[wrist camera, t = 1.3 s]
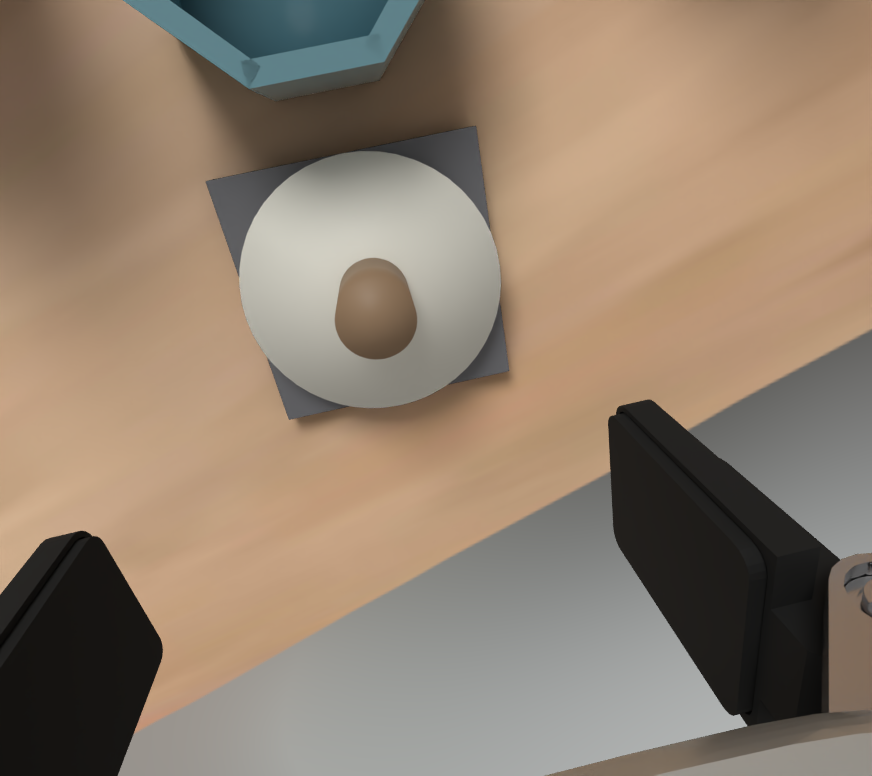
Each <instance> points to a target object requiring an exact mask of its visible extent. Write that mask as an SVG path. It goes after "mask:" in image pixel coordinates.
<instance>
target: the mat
mask: <svg viewBox="0 0 872 776" xmlns="http://www.w3.org/2000/svg"><path fill="white" fill-rule="evenodd" d="M356 151H380V152H386V153H392V154H397V155H401V156H404V157H407V158H411V159H414V160H416V161H419V162H421V163H423V164H425V165H427V166H429V167H432V168H433V169H435V170H436V171H438V172H440V173H441V174H443V175H444V176H446V177H447V178H449V179H450V180H451V181H452V182H453V183H454V184H456V185H457V186H458V187H459V188H460V189H461V190H462V191H463V192H464V193H465V194H466V195H467V196H468V197H469V198H470V200H471V201H472V202H473V203H474V204H475V206H476V207H477V209H478V210H479V212H480V213H481V215H482V216H483V218H484V220H485V222H486V224H487V226H488V228H489V230H490V225H489V218H488V210H487V203H486V196H485V188H484V181H483V173H482V166H481V159H480V151H479V144H478V137H477V129H476V126H472V127H467V128H462V129H457V130H452V131H447V132H442V133H437V134H433V135H428V136H423V137H418V138H413V139H408V140H403V141H399V142H394V143H389V144H384V145H379V146H374V147H369V148H364V149H360V150H355V151H350V152H356ZM345 153H349V152H345ZM340 154H342V153H340ZM335 155H338V154H335ZM331 156H334V155H330V156H325V157H321V158H316V159H311V160H306V161H301V162H296V163H291V164H286V165H282V166H277V167H272V168H267V169H262V170H257V171H252V172H248V173H243V174H238V175H233V176H228V177H223V178H218V179H213V180H209V181H206V184H207V187H208V190H209V193H210V196H211V199H212V201H213V204H214V207H215V210H216V213H217V216H218V218H219V221H220V224H221V227H222V230H223V233H224V236H225V238H226V241H227V244H228V247H229V250H230V253H231V256H232V258H233V261H234V264H235V267H236V270H237V273H238V276H239V269H240V261H241V254H242V249H243V246H244V242H245V239H246V235H247V233H248V230H249V228H250V226H251V224H252V221H253V219H254V217H255V216H256V214H257V213H258V211H259V209H260V208H261V206H262V205H263V203H264V202H265V201H266V200H267V198H268V197H269V196H270V195H271V194H272V193H273V191H274V190H275V189H276V188H277V187H278V186H280V185H281V184H282V183H283V182H284V181H285V180H287V179H288V178H289V177H290V176H292V175H293V174H295V173H296V172H298V171H300V170H301V169H303V168H304V167H306V166H308V165H310V164H313V163H315V162H317V161H319V160H322V159H324V158H327V157H331ZM267 358H268V357H267ZM268 361H269V364H270V367H271V370H272V373H273V376H274V378H275V381H276V384H277V387H278V390H279V393H280V396H281V398H282V401H283V404H284V407H285V410H286V413H287V416H288V418H289V420H290V419H294V418H299V417H303V416H308V415H313V414H317V413H322V412H326V411H331V410H335V409H340V408H344V407H349V406H347V405H342V404H338V403H335V402H331V401H328V400H325V399H323V398H321V397H318V396H316V395H314V394H312V393H310V392H308V391H306V390H305V389H303V388H301V387H300V386H298V385H296V384H295V383H294V382H293V381H291V380H290V379H289V378H287V377H286V376H285V375H284V374H283V373H282V372H281V371H280V370H279V369H278V368H277V367H276V366H275V365H274V364H273V363H272V362H271V361H270V360H269V358H268ZM507 371H509V365H508V358H507V351H506V343H505V336H504V328H503V321H502V314H501V306H500V300H499V306H498V311H497V315H496V318H495V321H494V324H493V327H492V330H491V332H490V334H489V336H488V338H487V340H486V342H485V344H484V346H483V347H482V349H481V350H480V352H479V353H478V355H477V356H476V358H475V359H474V360H473V361H472V362H471V364H470V365H469V366H468V367H467V368H466V369H465V370H464V371H463V372H462V373H461V374H460V375H459V376H458V377H457V378H456V379H454V380H453V381H452V382H450V383H449V384H453V383H457V382H462V381H466V380H471V379H475V378H480V377H484V376H489V375H493V374H498V373H502V372H507Z"/></svg>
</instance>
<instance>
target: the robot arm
mask: <svg viewBox="0 0 872 776" xmlns="http://www.w3.org/2000/svg"><path fill="white" fill-rule="evenodd" d="M608 429H609V449H610V469H611V489H612V508H613V527H614V534H615V538H616V541H617V543H618V546H619V548H620V549H621V551H622V552H623V554H624V556H625V557H626V559H627V560H628V561H629V563H630V565H631V566H632V568H633V569H634V571H635V572H636V574H637V576H638V577H639V579H640V580H641V581H642V583H643V585H644V586H645V588H646V589H647V591H648V592H649V594H650V595H651V597H652V598H653V600H654V602H655V603H656V605H657V606H658V608H659V609H660V611H661V612H662V614H663V615H664V617H665V618H666V620H667V621H668V623H669V624H670V626H671V628H672V629H673V631H674V632H675V634H676V635H677V637H678V638H679V640H680V641H681V643H682V645H683V646H684V648H685V649H686V651H687V652H688V654H689V655H690V657H691V658H692V660H693V661H694V663H695V664H696V666H697V668H698V669H699V671H700V672H701V674H702V675H703V677H704V678H705V680H706V681H707V683H708V684H709V686H710V688H711V689H712V691H713V692H714V694H715V695H716V697H717V698H718V700H719V701H720V703H721V704H722V706H723V707H724V709H725V710H726V711H727V712H728V713H729V714H731V715H733V716H734V715H738V714H740V715H741V717H742V718H743V720H744V721H745V723H746V724H747V727H743V728H739V729H734V730H730V731H726V732H722V733H717V734H713V735H709V736H705V737H700V738H697V739H692V740H687V741H683V742H679V743H675V744H670V745H666V746H662V747H658V748H653V749H649V750H645V751H641V752H637V753H632V754H628V755H625V756H620V757H616V758H613V759H608V760H605V761H601V762H597V763H593V764H589V765H585V766H581V767H577V768H573V769H569V770H566V771H562V772H557V773H554V774H550V775H546V776H872V553H866V554H855V555H852V556H849V557H846V558H844V559H841V560H840V559H839V558H838V557H837V556H835V555H834V554H833V553H832V552H831V551H830V550H828V549H827V548H826V547H825V546H824V545H823V544H821V543H820V542H819V541H818V540H817V539H816V538H814V537H813V536H812V535H811V534H810V533H809V532H807V531H806V530H805V529H804V528H802V526H800V525H799V524H798V523H797V522H796V521H795V520H793V519H792V518H791V517H790V516H789V515H788V514H786V513H785V512H784V511H783V510H782V509H781V508H779V507H778V506H777V505H776V504H775V503H774V502H772V501H771V500H770V499H769V498H768V497H767V496H765V495H764V494H763V493H762V492H761V491H759V490H758V489H757V488H756V487H755V486H754V485H753V484H751V483H750V482H749V481H748V480H746V478H744V477H743V476H742V475H741V474H740V473H739V472H737V471H736V470H735V469H734V468H733V467H732V466H730V465H729V464H728V463H727V462H725V461H723V460H722V459H720V458H718V457H717V456H716V455H715V454H714V453H713V452H711V451H710V450H709V449H708V448H707V447H706V446H705V445H703V444H702V443H701V442H700V441H699V440H698V439H696V438H695V437H694V436H693V435H692V434H690V433H689V432H688V431H687V430H686V429H685V428H684V427H683V426H681V425H680V424H679V423H678V422H677V421H676V420H674V419H673V418H672V417H671V416H670V415H669V414H667V413H666V412H665V411H664V410H663V409H662V408H661V407H659V406H658V405H657V404H656V403H655V402H653V401H652V400H644V401H640V402H635V403H631V404H627V405H622V406H619V407H618V408H617V412H616V415H614V416H610V418H609V420H608ZM162 653H163V648H162V642H161V639H160V637H159V635H158V634H157V632H156V630H155V629H154V627H153V625H152V624H151V622H150V620H149V618H148V617H147V615H146V613H145V612H144V610H143V608H142V607H141V605H140V603H139V602H138V600H137V598H136V596H135V595H134V593H133V591H132V590H131V588H130V586H129V585H128V583H127V581H126V580H125V578H124V576H123V574H122V573H121V571H120V569H119V568H118V566H117V564H116V563H115V561H114V559H113V557H112V556H111V554H110V552H109V551H108V549H107V547H106V546H105V544H104V542H103V541H102V540H101V539H100V538H99V537H96V536H93V537H92V536H91V534H89V533H88V532H86V531H78V532H74V533H69V534H65V535H61V536H57V537H52V538H49V539H46V540H45V541H43V542H42V543H41V544H40V545H39V547H38V548H37V549H36V551H35V552H34V553H33V554H32V556H31V557H30V558H29V559H28V561H27V562H26V563H25V564H24V566H23V567H22V568H21V569H20V571H19V572H18V573H17V574H16V576H15V577H14V578H13V579H12V581H11V582H10V583H9V584H8V586H7V587H6V588H5V590H4V591H3V592H2V593H1V595H0V776H118V773H119V770H120V768H121V765H122V763H123V760H124V757H125V755H126V752H127V749H128V747H129V744H130V742H131V739H132V736H133V734H134V731H135V728H136V726H137V723H138V721H139V718H140V715H141V713H142V710H143V707H144V705H145V702H146V699H147V697H148V694H149V692H150V689H151V686H152V684H153V681H154V678H155V676H156V673H157V671H158V668H159V665H160V663H161V659H162Z"/></svg>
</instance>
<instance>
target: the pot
mask: <svg viewBox="0 0 872 776" xmlns="http://www.w3.org/2000/svg"><path fill="white" fill-rule="evenodd" d="M123 1H125V2H126V3H128V4H129V5H130V6H132V7H133V8H135V9H136V10H137V11H139V12H140V13H142V14H143V15H145V16H146V17H147V18H149V19H150V20H152V21H153V22H155V23H156V24H157V25H159V26H160V27H162V28H163V29H165V30H166V31H167V32H169V33H170V34H172V35H173V36H174V37H176V38H177V39H179V40H180V41H182V42H183V43H184V44H186V45H187V46H189V47H190V48H192V49H193V50H194V51H196V52H197V53H199V54H200V55H201V56H203V57H204V58H206V59H207V60H209V61H210V62H211V63H213V64H214V65H216V66H217V67H219V68H220V69H221V70H223V71H224V72H226V73H227V74H228V75H230V76H231V77H233V78H234V79H236V80H237V81H238V82H240V83H241V84H243V85H244V86H246V87H247V88H248V89H249V90H252V91H254V92H256V93H258V94H260V95H263V96H265V97H267V98H269V99H271V100H273V101H280V100H285V99H290V98H295V97H300V96H305V95H310V94H315V93H320V92H324V91H329V90H334V89H339V88H344V87H349V86H354V85H359V84H364V83H369V82H374V81H379V80H380V79H381V77H382V75H383V73H384V72H385V70H386V68H387V66H388V65H389V63H390V61H391V59H392V57H393V56H394V54H395V52H396V50H397V49H398V47H399V45H400V43H401V42H402V40H403V38H404V36H405V34H406V33H407V31H408V29H409V27H410V26H411V24H412V22H413V20H414V19H415V17H416V15H417V13H418V12H419V10H420V8H421V6H422V4H423V3H424V1H425V0H123Z"/></svg>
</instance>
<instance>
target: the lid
mask: <svg viewBox="0 0 872 776" xmlns="http://www.w3.org/2000/svg"><path fill="white" fill-rule="evenodd" d="M239 286H240V293H241V301H242V306H243V309H244V313H245V316H246V320H247V322H248V324H249V327H250V329H251V331H252V334H253V336H254V338H255V339H256V341H257V343H258V344H259V346H260V348H261V349H262V351H263V352H264V353H265V355H266V356H267V357H268V358H269V360H270V361H271V362H272V363H273V364H274V365H275V366H276V367H277V368H278V369H279V370H280V371H281V372H282V373H283V374H284V375H285V376H286V377H287V378H289V379H290V380H291V381H293V382H294V383H295V384H296V385H298V386H300V387H301V388H303V389H305V390H306V391H308V392H310V393H312V394H314V395H316V396H318V397H321V398H323V399H325V400H328V401H331V402H335V403H338V404H342V405H347V406H352V407H361V408H386V407H393V406H399V405H403V404H407V403H410V402H414V401H417V400H419V399H422V398H424V397H427V396H429V395H431V394H433V393H435V392H436V391H438V390H440V389H442V388H443V387H445V386H446V385H448V384H449V383H450V382H452V381H453V380H454V379H456V378H457V377H458V376H459V375H460V374H461V373H462V372H463V371H464V370H465V369H466V368H467V367H468V366H469V365H470V364H471V362H472V361H473V360H474V359H475V358H476V356H477V355H478V353H479V352H480V350H481V349H482V347H483V346H484V344H485V342H486V340H487V338H488V336H489V334H490V332H491V330H492V327H493V324H494V321H495V318H496V315H497V311H498V306H499V300H500V289H501V275H500V264H499V259H498V254H497V249H496V246H495V243H494V240H493V237H492V234H491V232H490V230H489V228H488V226H487V224H486V222H485V220H484V218H483V216H482V215H481V213H480V212H479V210H478V209H477V207H476V206H475V204H474V203H473V202H472V201H471V200H470V198H469V197H468V196H467V195H466V194H465V193H464V192H463V191H462V190H461V189H460V188H459V187H458V186H457V185H456V184H454V183H453V182H452V181H451V180H450V179H449V178H447V177H446V176H444V175H443V174H441V173H440V172H438V171H436V170H435V169H433V168H432V167H429V166H427V165H425V164H423V163H421V162H419V161H416V160H414V159H411V158H407V157H404V156H401V155H397V154H392V153H386V152H380V151H356V152H349V153H342V154H338V155H334V156H331V157H327V158H324V159H322V160H319V161H317V162H315V163H313V164H310V165H308V166H306V167H304V168H303V169H301V170H300V171H298V172H296V173H295V174H293V175H292V176H290V177H289V178H288V179H287V180H285V181H284V182H283V183H282V184H281V185H280V186H278V187H277V188H276V189H275V190H274V191H273V193H272V194H271V195H270V196H269V197H268V198H267V200H266V201H265V202H264V203H263V205H262V206H261V208H260V209H259V211H258V213H257V214H256V216H255V217H254V219H253V221H252V224H251V226H250V228H249V230H248V233H247V235H246V239H245V242H244V246H243V249H242V254H241V261H240V269H239Z"/></svg>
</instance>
